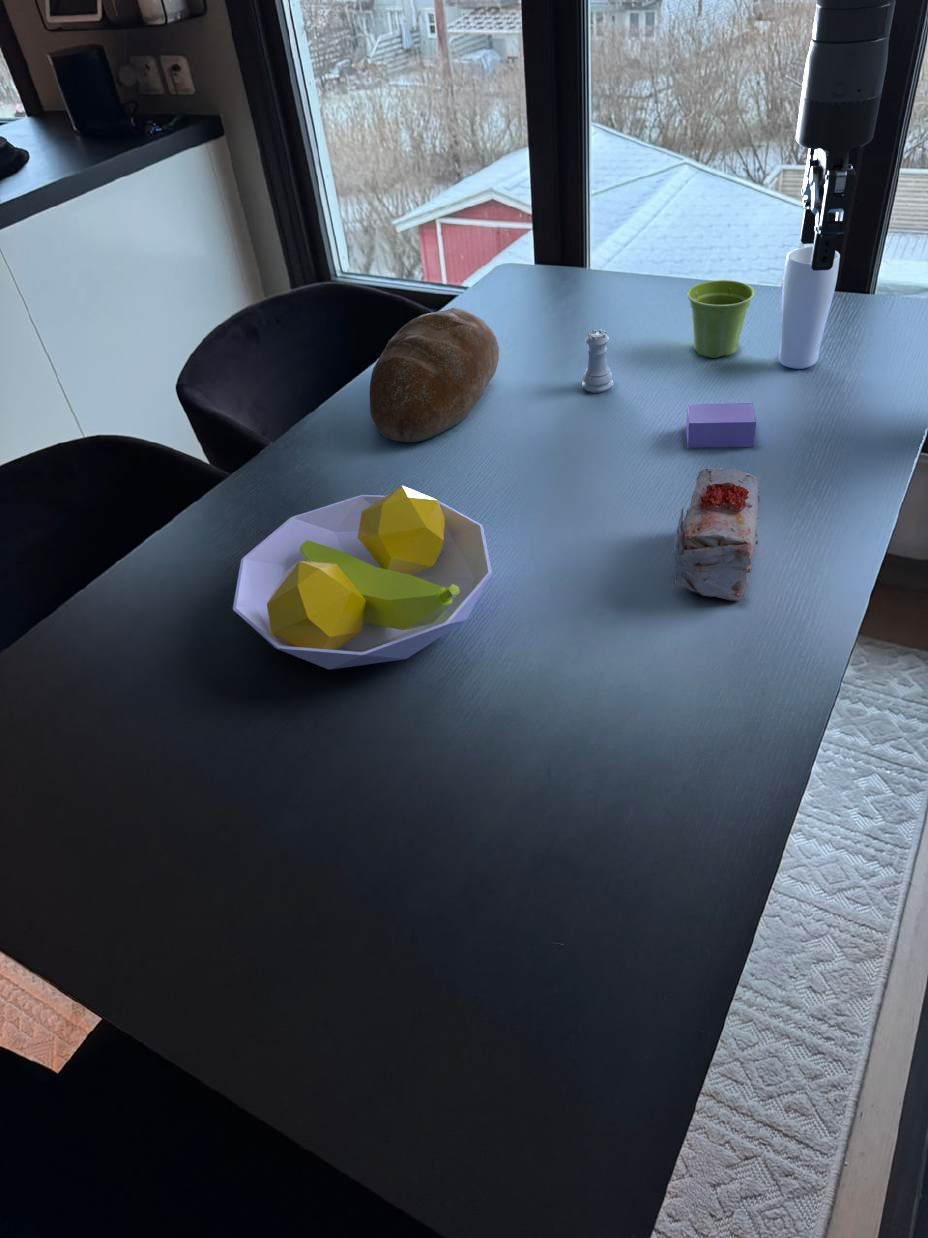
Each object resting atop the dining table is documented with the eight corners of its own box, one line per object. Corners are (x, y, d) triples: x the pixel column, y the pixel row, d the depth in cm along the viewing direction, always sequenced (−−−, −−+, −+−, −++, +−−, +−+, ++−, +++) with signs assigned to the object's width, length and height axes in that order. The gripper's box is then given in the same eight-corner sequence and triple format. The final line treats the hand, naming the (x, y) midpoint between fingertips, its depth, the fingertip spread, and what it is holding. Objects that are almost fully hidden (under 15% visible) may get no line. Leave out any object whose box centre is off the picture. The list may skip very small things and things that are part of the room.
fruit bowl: (223, 584, 100) (193, 500, 93) (443, 512, 106) (431, 428, 99) (284, 751, 80) (251, 661, 72) (551, 650, 86) (546, 557, 79)
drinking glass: (815, 375, 122) (832, 265, 113) (766, 368, 125) (779, 261, 116) (828, 355, 126) (846, 248, 117) (780, 349, 130) (794, 243, 120)
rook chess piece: (619, 384, 127) (620, 330, 121) (601, 396, 124) (600, 342, 119) (594, 376, 129) (593, 323, 124) (575, 389, 127) (574, 335, 122)
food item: (750, 611, 87) (762, 530, 81) (668, 603, 89) (673, 523, 83) (756, 531, 97) (766, 453, 90) (682, 526, 99) (687, 449, 93)
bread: (517, 356, 137) (511, 282, 130) (457, 452, 117) (447, 371, 110) (423, 352, 142) (413, 281, 135) (350, 444, 122) (334, 366, 114)
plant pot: (757, 341, 132) (764, 283, 127) (735, 367, 127) (741, 308, 121) (697, 333, 137) (701, 276, 131) (673, 358, 131) (676, 300, 125)
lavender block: (750, 427, 114) (752, 402, 112) (753, 447, 110) (756, 421, 108) (686, 428, 115) (687, 403, 113) (687, 447, 112) (689, 423, 109)
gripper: (896, 102, 82) (862, 277, 93) (868, 72, 93) (840, 232, 103) (812, 108, 84) (787, 280, 94) (793, 78, 94) (773, 235, 105)
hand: (815, 255), depth 99 cm, fingers open, 8 cm apart
